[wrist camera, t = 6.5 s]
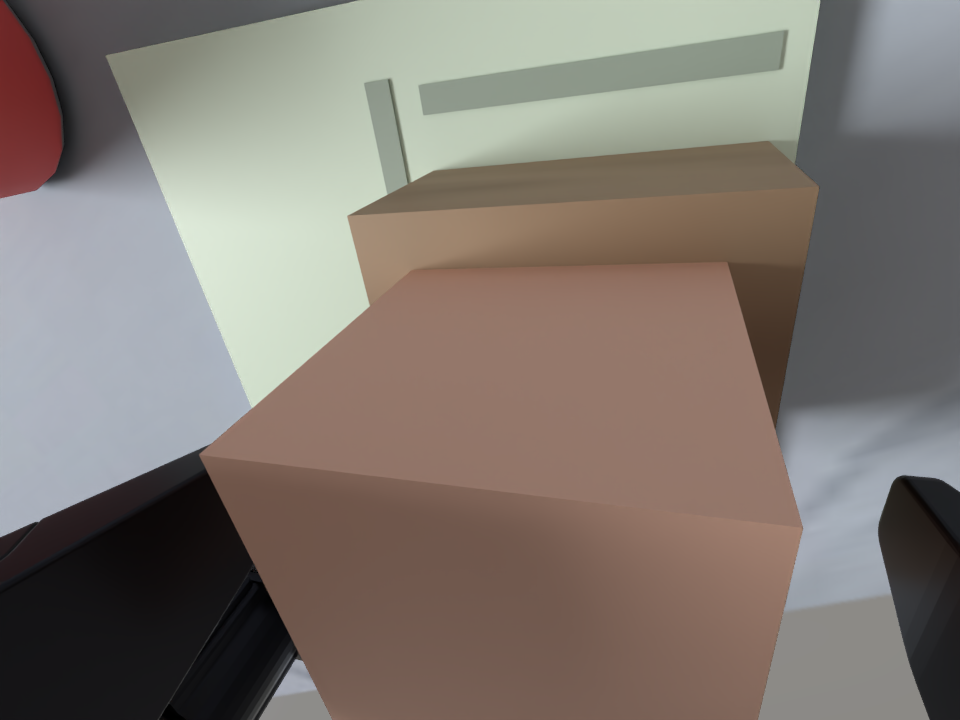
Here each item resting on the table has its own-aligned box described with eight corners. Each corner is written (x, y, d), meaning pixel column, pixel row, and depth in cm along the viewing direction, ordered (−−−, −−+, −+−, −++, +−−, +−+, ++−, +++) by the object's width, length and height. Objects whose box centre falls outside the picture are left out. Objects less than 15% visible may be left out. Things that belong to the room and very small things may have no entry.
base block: (730, 433, 13) (751, 559, 10) (473, 414, 15) (421, 511, 12) (768, 140, 10) (819, 186, 7) (433, 170, 12) (347, 216, 9)
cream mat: (737, 487, 15) (741, 508, 14) (283, 439, 20) (269, 453, 19) (823, -92, 9) (837, -105, 8) (131, 55, 14) (102, 55, 13)
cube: (701, 514, 10) (726, 850, 6) (456, 485, 11) (337, 730, 7) (727, 262, 7) (803, 528, 3) (411, 270, 9) (197, 454, 5)
